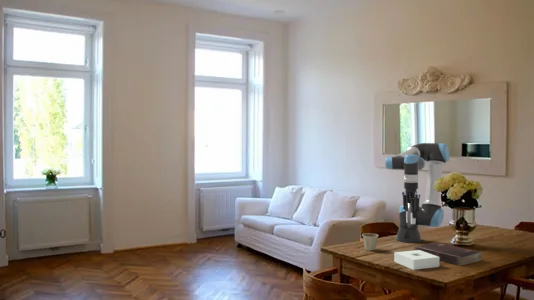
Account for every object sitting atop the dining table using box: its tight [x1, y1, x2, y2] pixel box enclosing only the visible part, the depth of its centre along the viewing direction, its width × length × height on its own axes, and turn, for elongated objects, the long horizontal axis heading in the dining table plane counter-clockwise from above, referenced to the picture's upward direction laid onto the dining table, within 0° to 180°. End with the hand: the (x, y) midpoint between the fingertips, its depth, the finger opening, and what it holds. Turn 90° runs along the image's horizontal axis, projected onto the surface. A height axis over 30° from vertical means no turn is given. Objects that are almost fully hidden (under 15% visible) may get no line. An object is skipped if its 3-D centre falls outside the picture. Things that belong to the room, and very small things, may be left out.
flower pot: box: [361, 233, 379, 251], centre depth 276 cm, size 9×9×9 cm
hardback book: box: [413, 241, 482, 266], centre depth 259 cm, size 29×19×5 cm, turn 33°
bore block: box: [393, 250, 440, 271], centre depth 244 cm, size 16×16×5 cm
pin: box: [408, 203, 414, 228], centre depth 264 cm, size 3×3×14 cm
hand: (410, 223), depth 265 cm, fingers closed on pin, 3 cm apart
